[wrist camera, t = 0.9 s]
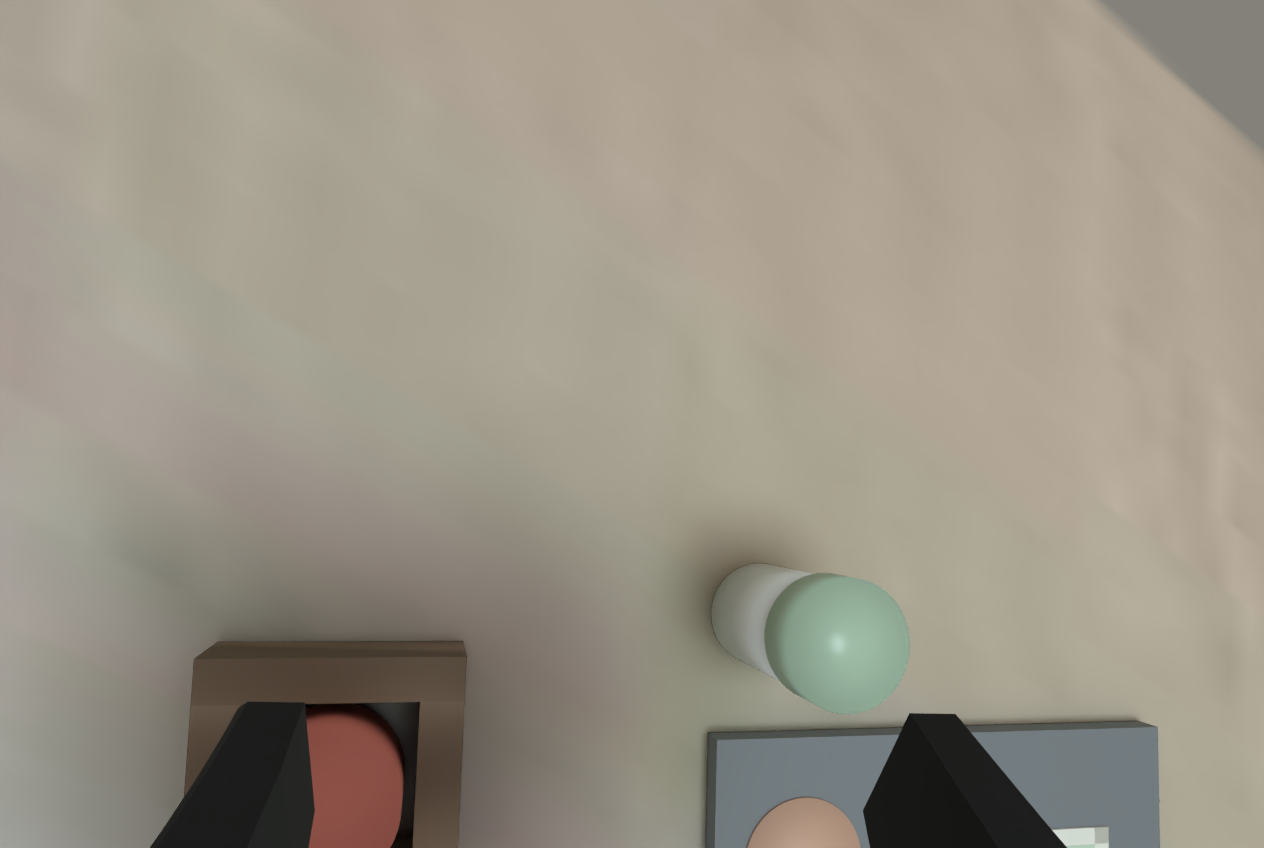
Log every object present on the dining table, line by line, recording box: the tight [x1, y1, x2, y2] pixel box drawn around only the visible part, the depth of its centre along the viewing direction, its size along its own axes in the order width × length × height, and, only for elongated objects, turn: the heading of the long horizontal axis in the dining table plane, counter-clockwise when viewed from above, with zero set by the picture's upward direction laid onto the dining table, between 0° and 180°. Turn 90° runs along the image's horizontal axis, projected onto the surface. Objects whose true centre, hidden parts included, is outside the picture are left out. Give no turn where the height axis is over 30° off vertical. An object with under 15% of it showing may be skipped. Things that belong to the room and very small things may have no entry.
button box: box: [184, 641, 467, 848], centre depth 23 cm, size 6×6×2 cm
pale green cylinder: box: [711, 563, 910, 714], centre depth 24 cm, size 3×3×6 cm
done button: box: [306, 703, 405, 848], centre depth 22 cm, size 4×4×3 cm
